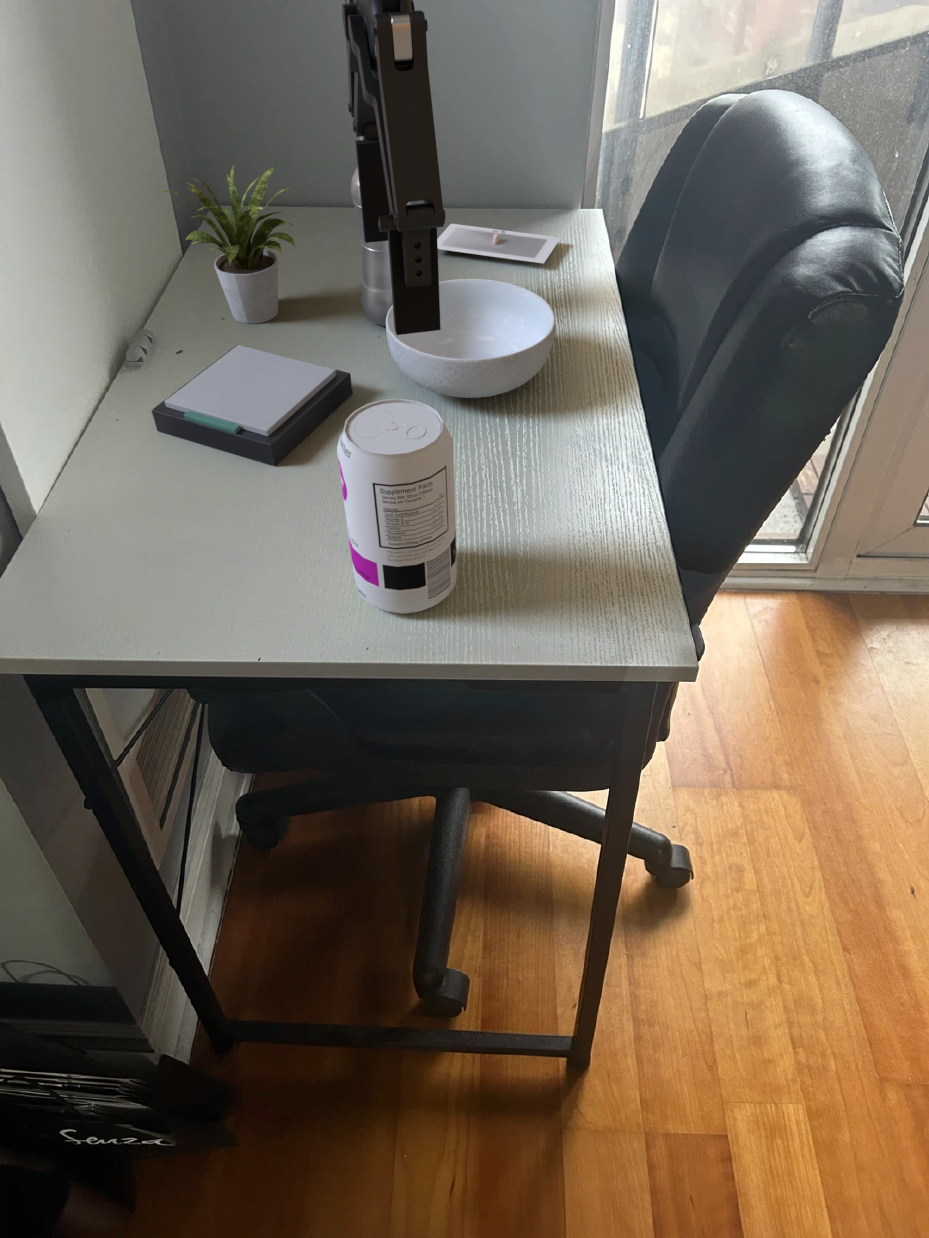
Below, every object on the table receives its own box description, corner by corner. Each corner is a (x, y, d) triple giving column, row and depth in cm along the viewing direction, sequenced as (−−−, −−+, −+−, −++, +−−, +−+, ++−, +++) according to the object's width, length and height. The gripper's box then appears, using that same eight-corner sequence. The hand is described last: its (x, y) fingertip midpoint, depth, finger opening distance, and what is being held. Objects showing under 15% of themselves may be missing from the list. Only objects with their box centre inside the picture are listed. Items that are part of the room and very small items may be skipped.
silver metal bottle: (365, 335, 105) (346, 146, 91) (361, 307, 110) (342, 123, 96) (422, 330, 106) (412, 141, 92) (415, 302, 111) (405, 119, 97)
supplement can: (338, 604, 75) (313, 445, 64) (383, 541, 80) (367, 385, 69) (432, 630, 72) (422, 470, 62) (471, 564, 78) (469, 406, 67)
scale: (275, 466, 88) (269, 438, 86) (157, 431, 93) (149, 403, 90) (352, 393, 97) (349, 366, 95) (241, 364, 101) (236, 338, 99)
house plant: (191, 356, 103) (153, 204, 91) (176, 301, 112) (140, 156, 101) (319, 334, 106) (298, 184, 94) (294, 282, 115) (273, 139, 104)
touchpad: (543, 272, 116) (544, 254, 114) (429, 256, 120) (429, 239, 118) (560, 246, 121) (561, 229, 120) (451, 232, 125) (450, 215, 123)
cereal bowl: (399, 431, 92) (394, 366, 87) (383, 347, 104) (377, 285, 99) (569, 413, 94) (573, 348, 88) (534, 332, 105) (536, 271, 100)
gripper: (505, -93, 39) (499, 369, 54) (404, -160, 56) (421, 203, 71) (323, -82, 38) (369, 385, 53) (278, -154, 55) (322, 213, 70)
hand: (399, 281), depth 62 cm, fingers open, 13 cm apart
